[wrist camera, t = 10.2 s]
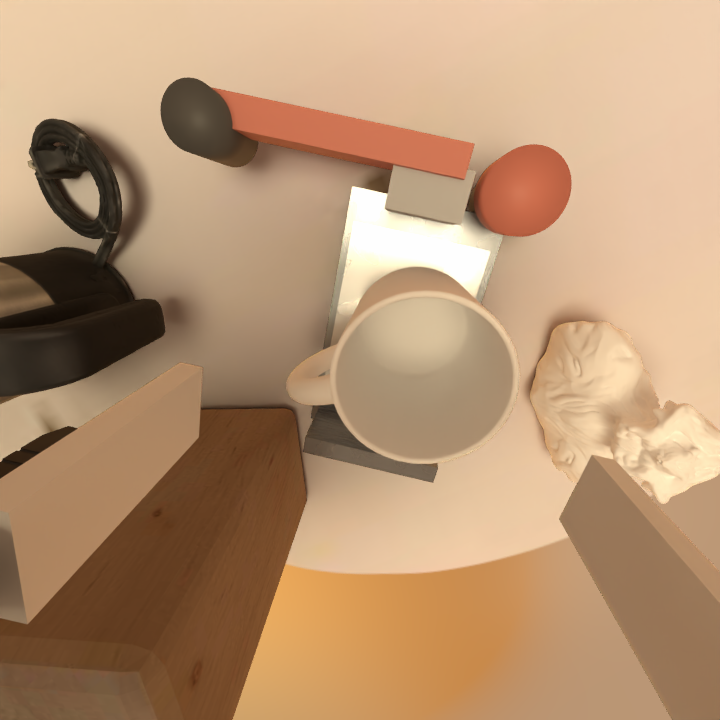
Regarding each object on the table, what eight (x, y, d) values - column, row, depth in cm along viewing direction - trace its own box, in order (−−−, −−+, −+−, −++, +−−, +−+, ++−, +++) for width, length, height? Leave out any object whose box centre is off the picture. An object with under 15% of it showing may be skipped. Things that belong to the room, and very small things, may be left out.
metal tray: (314, 409, 31) (295, 450, 25) (362, 146, 24) (351, 122, 18) (438, 438, 31) (447, 486, 25) (523, 181, 24) (561, 167, 18)
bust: (559, 439, 32) (738, 511, 23) (501, 475, 28) (684, 579, 19) (568, 300, 28) (789, 320, 19) (502, 323, 24) (733, 361, 15)
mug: (326, 401, 29) (288, 490, 19) (290, 298, 26) (226, 340, 17) (484, 366, 26) (533, 447, 17) (462, 249, 24) (504, 266, 14)
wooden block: (297, 403, 31) (139, 678, 12) (310, 501, 34) (202, 836, 15) (184, 405, 32) (-120, 658, 13) (207, 499, 35) (-9, 809, 17)
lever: (213, 172, 23) (160, 157, 18) (218, 97, 22) (161, 57, 16) (523, 240, 23) (560, 245, 17) (548, 168, 21) (596, 150, 16)
